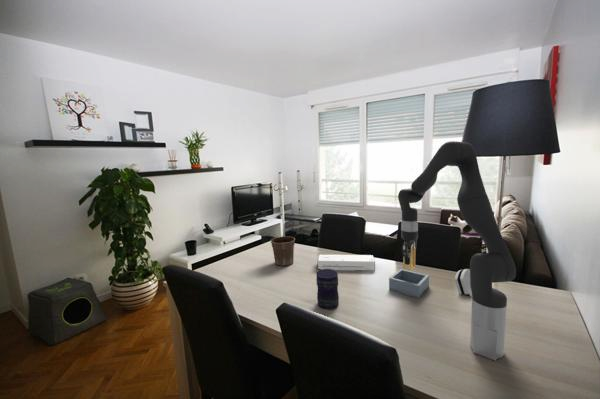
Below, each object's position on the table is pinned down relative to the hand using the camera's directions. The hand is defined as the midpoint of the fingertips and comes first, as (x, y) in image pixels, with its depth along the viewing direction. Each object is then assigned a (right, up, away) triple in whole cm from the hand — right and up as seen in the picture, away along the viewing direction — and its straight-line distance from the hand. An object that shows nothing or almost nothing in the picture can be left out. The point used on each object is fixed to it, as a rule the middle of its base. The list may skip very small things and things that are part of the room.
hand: (409, 262), depth 131 cm
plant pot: (-65, -11, +44) cm, 79 cm away
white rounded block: (+27, -13, -1) cm, 30 cm away
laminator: (-26, -11, +34) cm, 44 cm away
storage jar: (-41, -17, -9) cm, 46 cm away
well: (+1, -13, +2) cm, 13 cm away
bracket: (0, -3, 0) cm, 3 cm away
